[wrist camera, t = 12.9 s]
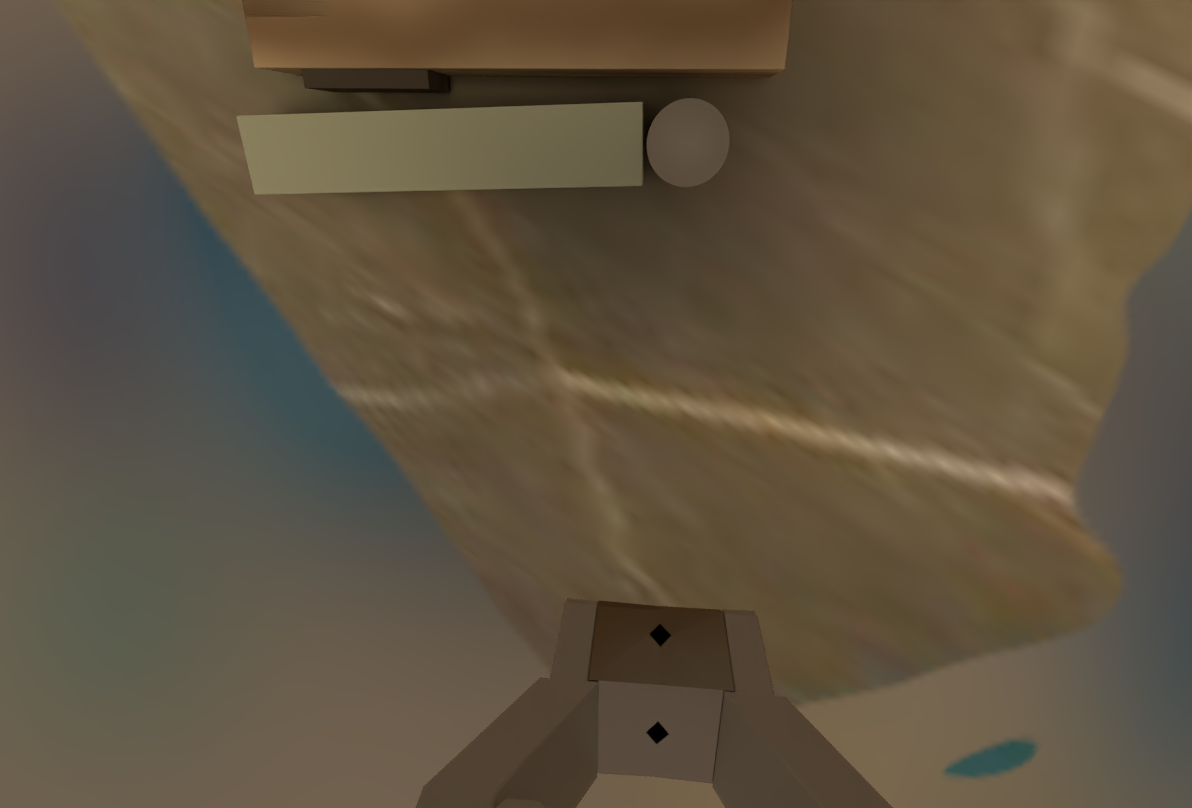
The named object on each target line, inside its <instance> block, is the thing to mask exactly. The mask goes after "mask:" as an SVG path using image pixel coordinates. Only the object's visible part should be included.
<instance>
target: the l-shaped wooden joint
mask: <svg viewBox="0 0 1192 808" xmlns="http://www.w3.org/2000/svg"><path fill="white" fill-rule="evenodd" d="M242 2H243V8H244V13H245V18H246V24H247V29H248V34H249V40H250V45H251V50H252V56H253V61H254V66H255V68H261V69H267V70H273V71H278V72H284V73H290V74H296V75H303V78H304V85H305V88H309V89H317V90H324V91H332V92H419V93H449V88H448V76H622V77H770V76H772V75H774V74H776V73H778V72H780V71H782V70H784V69H785V62H786V54H787V45H788V37H789V28H790V20H791V11H792V3H793V0H242Z"/></svg>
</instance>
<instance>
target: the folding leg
mask: <svg viewBox="0 0 1192 808" xmlns="http://www.w3.org/2000/svg"><path fill="white" fill-rule="evenodd" d="M236 117H237V121H238V125H239V130H240V134H241V138H242V142H243V147H244V151H245V155H246V159H247V164H248V168H249V172H250V176H251V181H252V185H253V189H254V193H255V194H299V193H344V192H389V191H434V190H479V189H524V188H569V187H614V186H642V185H643V181H644V104H643V102H623V103H594V104H566V105H537V106H508V107H479V108H450V109H422V110H393V111H364V112H335V113H307V114H278V115H249V116H236ZM729 143H730V136H729V130H728V126H727V123H726V121H725V119H724V117H723V116H722V114H721V113H720V112H719V110H718V109H717V108H715V107H714V106H713V105H712V104H710V103H708V102H706V101H704V100H701V99H696V98H685V99H680V100H677V101H674V102H672V103H671V104H669V105H667V106H666V107H665V108H663V109H662V110H661V111H660V112H659V113H658V115H657V116H656V117H655V119H654V120H653V122H652V124H651V126H650V129H649V132H648V136H647V154H648V158H649V162H650V164H651V166H652V168H653V169H654V171H655V172H656V173H657V175H658V176H659V177H660V178H661V179H663V180H664V181H666V182H667V183H669V184H671V185H674V186H678V187H693V186H697V185H700V184H703V183H705V182H706V181H708V180H709V179H711V178H712V177H713V176H714V175H715V174H716V173H717V172H718V171H719V170H720V168H721V167H722V165H723V164H724V162H725V160H726V157H727V154H728V150H729Z"/></svg>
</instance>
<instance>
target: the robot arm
mask: <svg viewBox="0 0 1192 808" xmlns="http://www.w3.org/2000/svg"><path fill="white" fill-rule="evenodd" d="M597 773H601V774H602V773H603V774H619V775H635V776H652V777H654V774H655V777H661V778H669V779H678V780H686V781H696V782H704V783H712V784H713V788H714V790H715V791H716V793H717V795H718V796H719V798H720V800H721V801H722V803H723V804H724V806H725V808H893V807H892V806H891V805H890V804H889V803H888V802H887V801H886V800H885V799H884V798H883V797H882V796H881V795H880V794H879V793H878V792H877V791H876V790H875V789H874V788H873V787H872V786H871V785H870V784H869V783H868V782H867V781H866V780H865V779H864V778H863V777H862V775H861V774H860V773H859V772H858V771H857V770H856V769H855V768H854V767H853V766H852V765H851V764H850V763H849V762H848V761H847V760H846V759H845V758H844V757H843V756H842V755H841V754H840V753H839V752H838V751H837V750H836V749H835V748H834V747H833V746H832V745H831V744H830V742H828V741H827V739H826V738H825V737H824V736H823V735H822V734H821V733H820V732H819V731H818V730H817V729H816V728H815V727H814V726H813V725H812V724H811V723H810V722H809V721H808V720H807V719H806V718H805V717H804V716H803V715H802V714H801V713H800V712H799V711H798V709H797V708H796V707H795V706H794V705H793V704H792V703H791V702H790V701H789V700H788V699H787V698H786V697H783V696H775V694H774V689H773V684H772V680H771V675H770V671H769V666H768V662H767V657H766V652H765V648H764V643H763V639H762V634H761V630H760V625H759V620H758V616H757V614H756V613H755V612H754V611H747V610H727V609H722V611H721V610H717V609H700V608H684V607H667V606H653V605H642V604H632V603H621V602H610V601H592V600H581V599H571V598H567V600H566V602H565V604H564V608H563V613H562V618H561V623H560V628H559V633H558V638H557V644H556V649H555V654H554V659H553V664H552V669H551V674H550V678H539V679H538V680H537V681H536V682H535V683H534V684H533V685H532V686H531V687H530V688H529V689H527V690H526V691H525V692H524V693H523V694H522V695H521V696H520V697H519V698H518V699H517V700H516V701H515V702H514V703H513V704H512V705H510V706H509V707H508V708H507V709H506V710H505V711H504V712H503V713H502V714H501V715H500V716H499V717H498V718H497V719H496V720H494V721H493V722H492V723H491V724H490V725H489V726H488V727H487V728H486V729H485V730H484V731H483V732H481V733H480V734H479V735H478V736H477V737H476V738H475V739H474V740H473V741H472V742H471V743H470V744H469V745H468V746H466V747H465V749H463V750H462V751H461V752H460V753H459V754H458V755H457V756H456V757H455V758H454V759H453V760H452V761H450V762H449V763H448V764H447V765H446V766H445V767H444V768H443V769H442V770H441V771H440V772H439V773H438V774H437V775H435V776H434V777H433V778H432V779H431V780H430V781H429V782H428V783H427V784H426V785H425V786H424V787H423V789H422V792H421V795H420V797H419V800H418V803H417V806H416V808H576V807H577V805H578V804H579V802H580V801H581V800H582V798H583V797H584V795H585V794H586V792H587V791H588V789H589V788H590V787H591V785H592V784H593V782H594V781H595V779H596V778H597Z"/></svg>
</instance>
